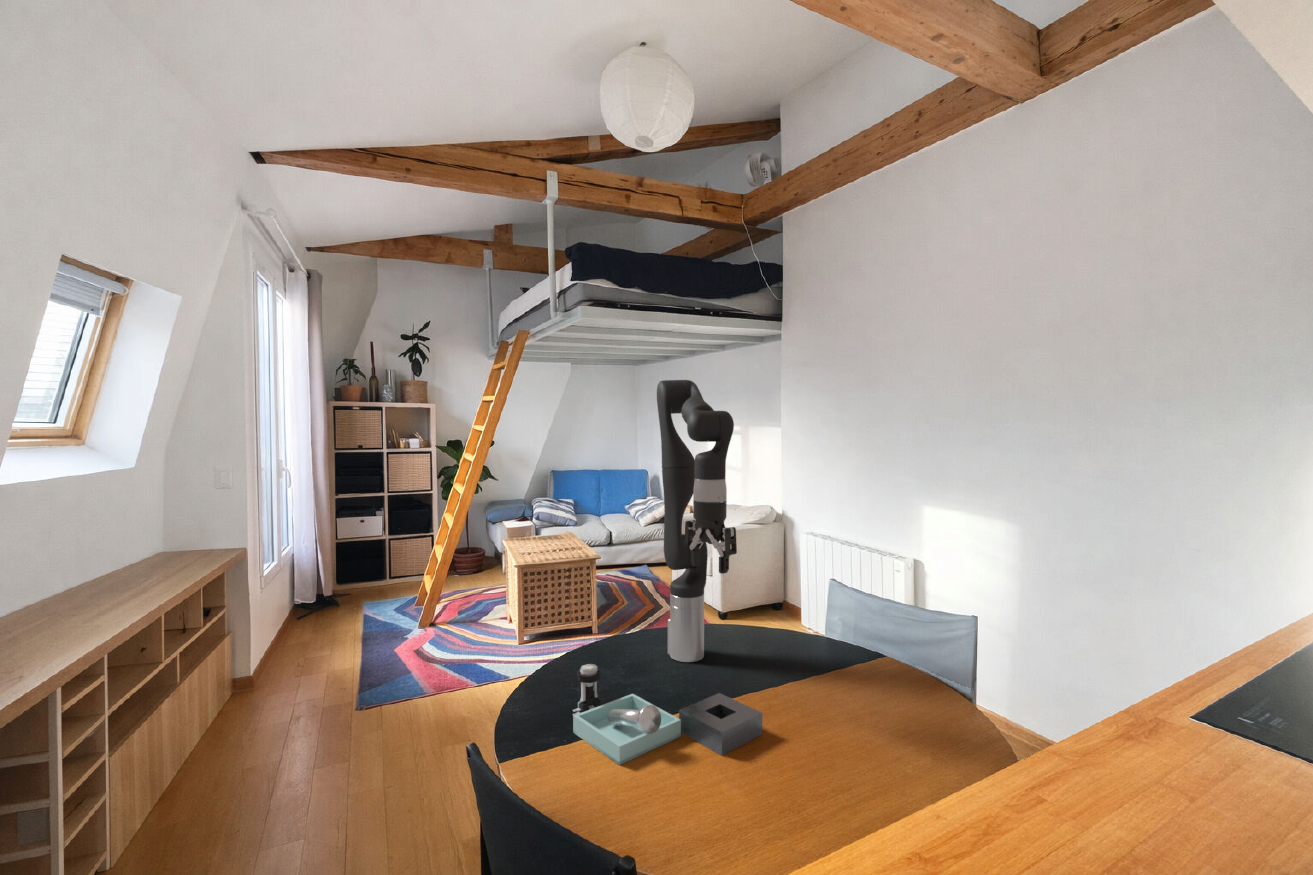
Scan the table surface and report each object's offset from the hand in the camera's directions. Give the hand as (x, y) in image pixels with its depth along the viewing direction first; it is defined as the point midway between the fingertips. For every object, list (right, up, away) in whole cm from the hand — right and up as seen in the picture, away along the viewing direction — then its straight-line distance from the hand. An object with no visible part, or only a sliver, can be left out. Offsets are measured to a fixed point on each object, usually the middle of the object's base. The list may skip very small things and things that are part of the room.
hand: (709, 569), depth 139 cm
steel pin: (-21, -28, -12) cm, 37 cm away
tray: (-18, -31, -15) cm, 38 cm away
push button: (-27, -31, -6) cm, 41 cm away
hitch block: (+1, -31, -14) cm, 34 cm away
